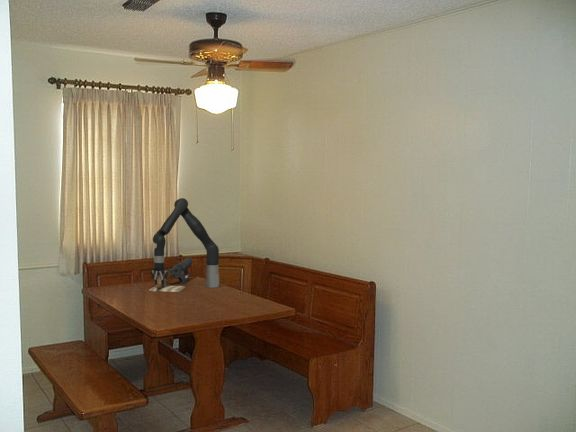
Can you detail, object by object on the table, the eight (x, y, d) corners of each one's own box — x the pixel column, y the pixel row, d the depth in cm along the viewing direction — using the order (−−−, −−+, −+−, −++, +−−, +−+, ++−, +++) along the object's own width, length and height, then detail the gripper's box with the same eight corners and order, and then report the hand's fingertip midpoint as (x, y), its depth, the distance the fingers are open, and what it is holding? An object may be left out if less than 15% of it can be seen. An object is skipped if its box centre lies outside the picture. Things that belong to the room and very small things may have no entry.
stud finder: (166, 285, 414) (166, 278, 414) (164, 287, 408) (164, 280, 408) (161, 285, 415) (161, 278, 414) (158, 287, 409) (158, 279, 408)
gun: (194, 281, 438) (194, 257, 437) (172, 288, 413) (172, 262, 411) (187, 280, 441) (187, 256, 440) (165, 287, 416) (165, 261, 414)
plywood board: (185, 287, 414) (185, 286, 414) (179, 291, 400) (179, 290, 399) (155, 286, 416) (155, 285, 416) (149, 291, 401) (149, 289, 401)
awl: (162, 288, 405) (162, 273, 405) (160, 289, 402) (160, 274, 401) (157, 288, 406) (157, 273, 405) (156, 289, 402) (156, 274, 401)
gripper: (170, 261, 405) (170, 283, 407) (151, 260, 407) (151, 283, 408) (167, 262, 398) (167, 285, 399) (148, 262, 399) (148, 285, 400)
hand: (159, 284), depth 403 cm, fingers open, 4 cm apart
